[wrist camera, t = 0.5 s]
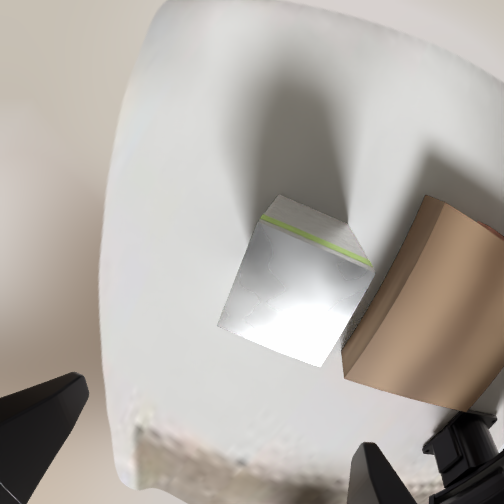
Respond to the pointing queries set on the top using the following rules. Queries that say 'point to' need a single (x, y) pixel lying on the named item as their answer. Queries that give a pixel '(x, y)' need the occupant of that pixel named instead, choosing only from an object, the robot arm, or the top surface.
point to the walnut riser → (435, 314)
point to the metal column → (297, 282)
